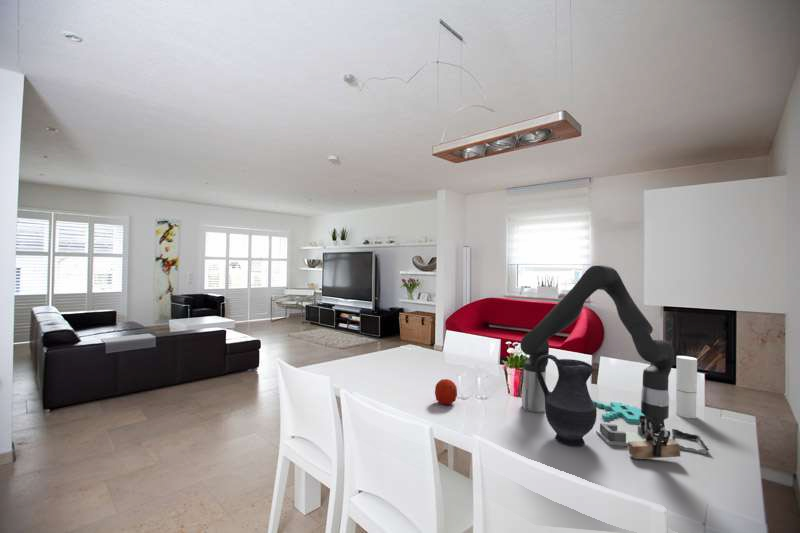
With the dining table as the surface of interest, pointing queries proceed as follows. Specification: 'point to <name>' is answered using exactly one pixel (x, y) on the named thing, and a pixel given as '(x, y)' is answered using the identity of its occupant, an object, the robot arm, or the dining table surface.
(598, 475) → the dining table surface
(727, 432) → the dining table surface
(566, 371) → the pitcher
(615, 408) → the alien figure
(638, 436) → the cradle board
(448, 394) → the apple
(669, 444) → the slat
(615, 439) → the end caps
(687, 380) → the cylindrical container
